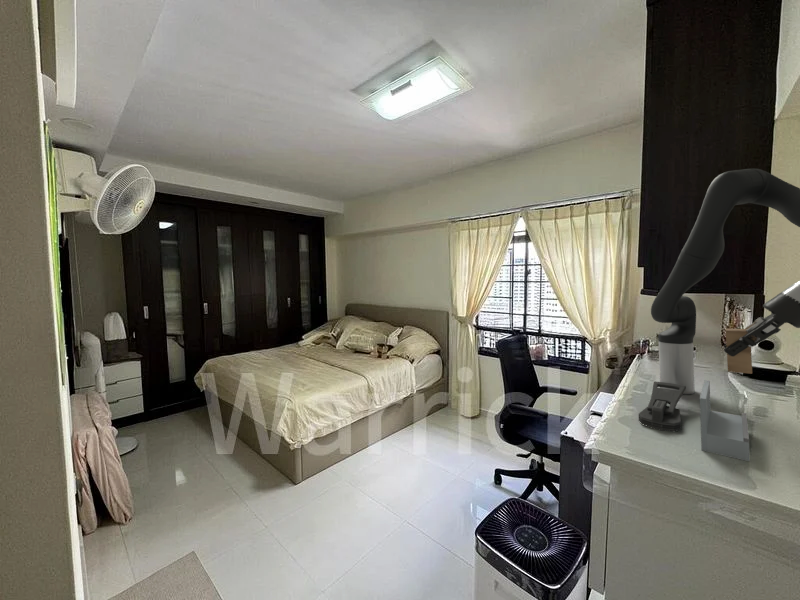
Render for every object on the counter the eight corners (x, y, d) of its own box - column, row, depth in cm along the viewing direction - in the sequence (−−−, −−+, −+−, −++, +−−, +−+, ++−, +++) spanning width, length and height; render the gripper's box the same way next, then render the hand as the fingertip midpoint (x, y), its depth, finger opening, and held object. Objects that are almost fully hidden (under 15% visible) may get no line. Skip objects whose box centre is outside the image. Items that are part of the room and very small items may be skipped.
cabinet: (727, 367, 81) (725, 328, 81) (755, 369, 78) (753, 329, 78) (727, 371, 77) (725, 330, 77) (757, 374, 74) (755, 331, 74)
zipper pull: (688, 385, 97) (678, 408, 80) (689, 406, 98) (679, 434, 80) (651, 380, 104) (635, 401, 87) (652, 400, 104) (636, 425, 87)
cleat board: (705, 424, 85) (704, 380, 84) (746, 432, 79) (745, 384, 79) (701, 450, 72) (699, 398, 72) (749, 461, 67) (748, 405, 67)
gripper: (778, 290, 77) (712, 336, 86) (787, 291, 67) (711, 344, 76) (815, 311, 74) (742, 358, 82) (830, 316, 64) (745, 369, 72)
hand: (727, 351), depth 79 cm, fingers closed on cabinet, 5 cm apart
